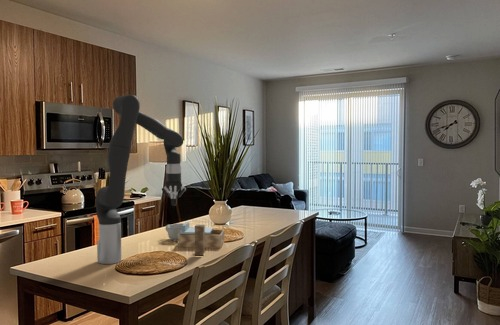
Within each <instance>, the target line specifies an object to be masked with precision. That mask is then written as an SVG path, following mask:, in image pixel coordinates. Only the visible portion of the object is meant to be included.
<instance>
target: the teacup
mask: <svg viewBox="0 0 500 325" xmlns="http://www.w3.org/2000/svg"><path fill="white" fill-rule="evenodd" d="M183 224H184V223H181V222H180V223H179V222H178V223H173V224H166V225H165V231H166V232H167V237H168V238H169V239H170V240H171V241H172V242H173V241H174V242H178V234H179V233H180V231H181V230H182V225H183Z"/></svg>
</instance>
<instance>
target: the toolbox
mask: <svg viewBox="0 0 500 325" xmlns="http://www.w3.org/2000/svg"><path fill="white" fill-rule="evenodd" d="M225 230H226V229H214V228H213V230H212V232H211V233H210V234H205V248H219V249H220V248H222V247H224V246H223V245H224V244H225V239H226V238H225V233H226V232H225ZM177 247H178V248H195V234H180V233H179V234H178V241H177Z"/></svg>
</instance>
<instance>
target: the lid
mask: <svg viewBox="0 0 500 325" xmlns="http://www.w3.org/2000/svg"><path fill="white" fill-rule="evenodd" d="M182 224H183V225H182V230H181V231H180V234H195V226H190V221H185V222H184V223H182ZM213 229H214V226H205V234H210V233H211V232H212V230H213Z"/></svg>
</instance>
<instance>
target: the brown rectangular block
mask: <svg viewBox="0 0 500 325" xmlns="http://www.w3.org/2000/svg"><path fill="white" fill-rule="evenodd" d="M194 227H195V247H194V256H195V257H204V256H205V255H204V254H205V253H206V249H205V248H206V247H205V227H206V226H205V224H195V226H194Z"/></svg>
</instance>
